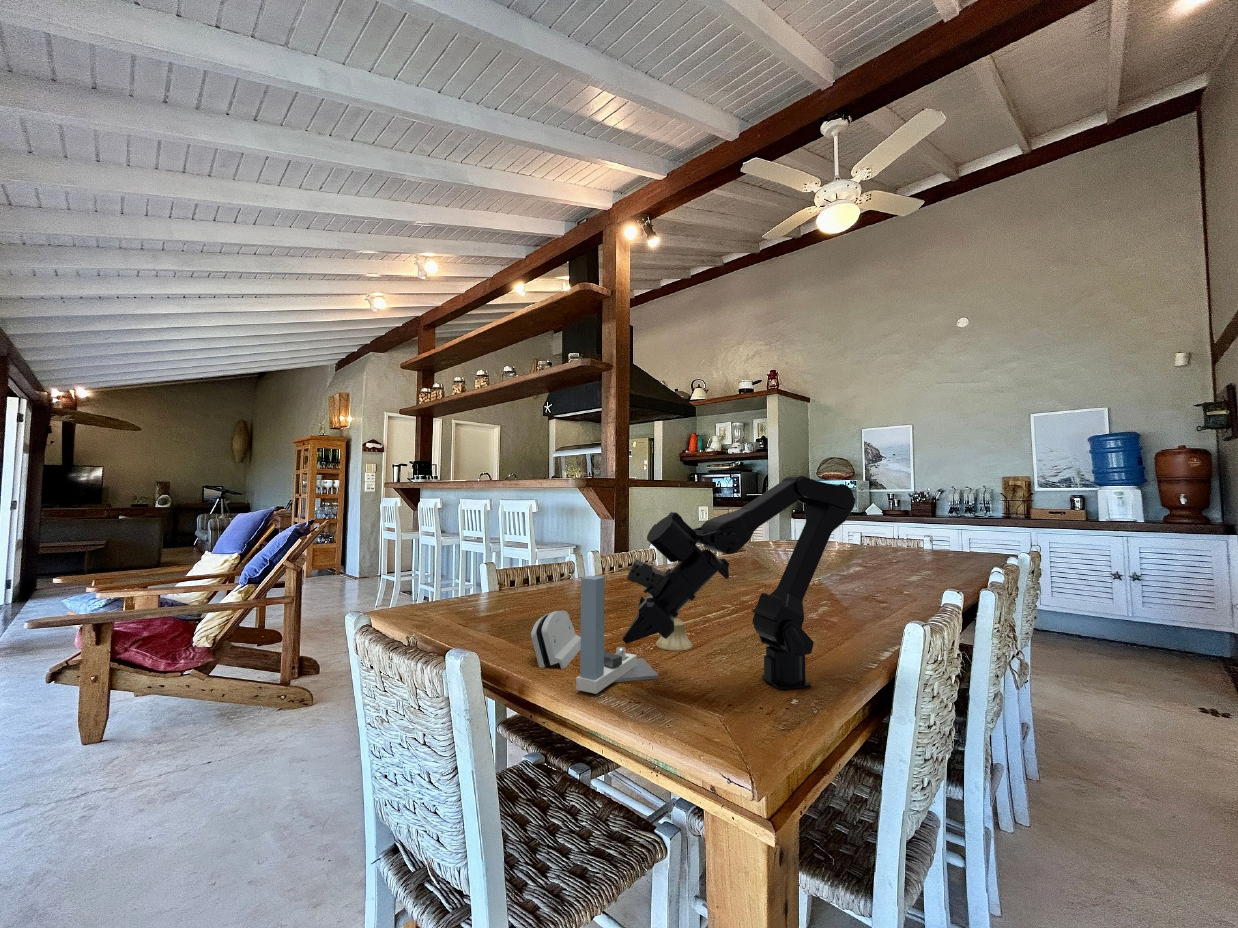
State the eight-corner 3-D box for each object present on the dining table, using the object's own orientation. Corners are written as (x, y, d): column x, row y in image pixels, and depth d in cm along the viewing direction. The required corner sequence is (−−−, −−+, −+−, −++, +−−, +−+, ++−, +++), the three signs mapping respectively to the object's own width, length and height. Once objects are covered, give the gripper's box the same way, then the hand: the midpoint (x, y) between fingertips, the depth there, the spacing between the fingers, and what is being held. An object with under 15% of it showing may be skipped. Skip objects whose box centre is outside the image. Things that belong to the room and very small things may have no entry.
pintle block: (642, 660, 105) (642, 638, 105) (660, 680, 95) (660, 655, 95) (582, 665, 102) (582, 642, 102) (593, 686, 91) (593, 660, 92)
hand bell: (699, 645, 116) (699, 574, 117) (677, 653, 110) (677, 578, 111) (670, 638, 122) (670, 570, 123) (648, 645, 116) (648, 574, 117)
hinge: (563, 669, 100) (547, 619, 101) (541, 676, 100) (525, 626, 102) (584, 644, 116) (570, 601, 117) (565, 650, 117) (551, 608, 118)
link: (618, 661, 102) (619, 566, 103) (636, 665, 101) (637, 567, 102) (576, 689, 88) (577, 578, 89) (596, 693, 86) (597, 580, 87)
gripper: (655, 539, 99) (599, 596, 100) (652, 551, 80) (582, 620, 81) (697, 581, 98) (640, 638, 98) (703, 602, 79) (632, 673, 80)
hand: (624, 640), depth 89 cm, fingers closed
